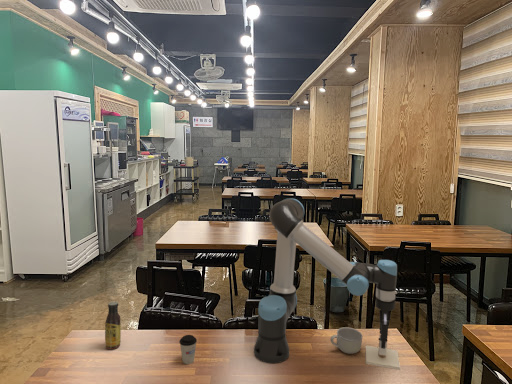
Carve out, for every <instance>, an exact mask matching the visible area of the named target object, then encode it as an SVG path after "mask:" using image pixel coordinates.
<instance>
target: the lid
mask: <svg viewBox="0 0 512 384" xmlns="http://www.w3.org/2000/svg"><path fill="white" fill-rule="evenodd" d="M379 345H380V340H378V347H377V346H372V345H365V365H368V364H369V366H374V365H375V366H374V367H381V368H385V367H386V369H391V368H392V369H393V370H397V369H398V370H399V371H401V364H400V359H399V352H398V350H397V349H393V348H392V349H391V348H390V349H389V348H386V356H385V355H379Z"/></svg>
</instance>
